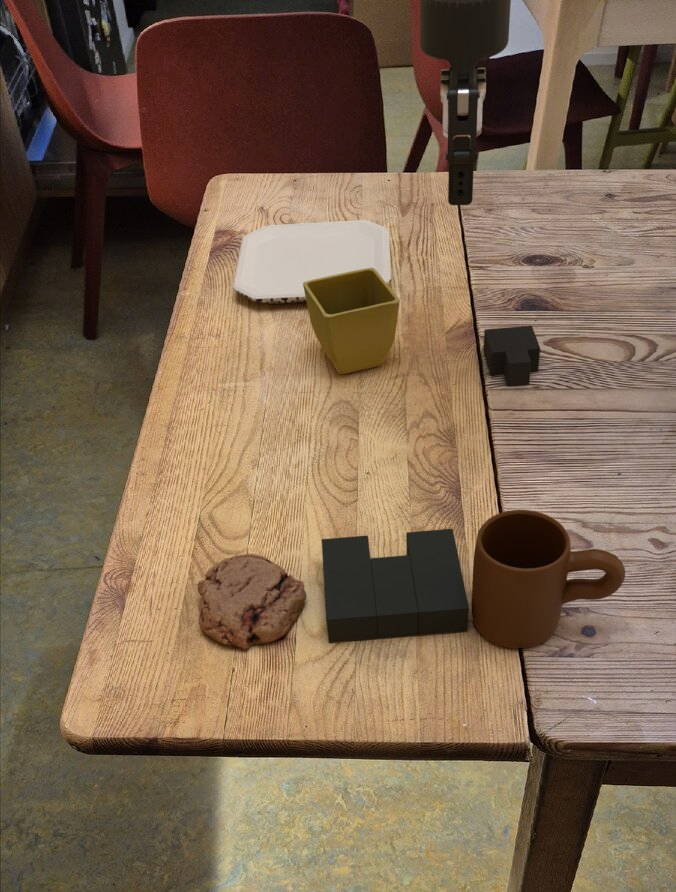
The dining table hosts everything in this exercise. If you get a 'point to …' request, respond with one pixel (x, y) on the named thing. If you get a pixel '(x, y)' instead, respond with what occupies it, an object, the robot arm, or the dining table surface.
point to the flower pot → (353, 318)
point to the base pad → (393, 588)
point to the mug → (531, 577)
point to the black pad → (512, 353)
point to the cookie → (248, 601)
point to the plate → (307, 257)
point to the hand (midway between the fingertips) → (460, 184)
